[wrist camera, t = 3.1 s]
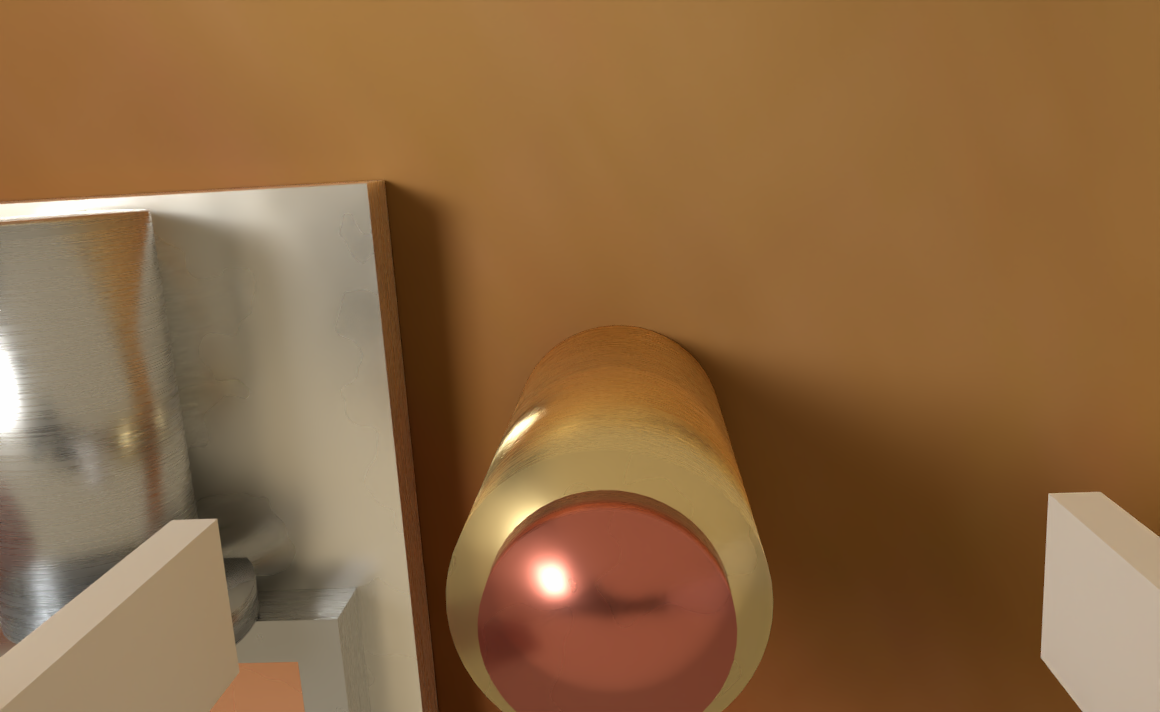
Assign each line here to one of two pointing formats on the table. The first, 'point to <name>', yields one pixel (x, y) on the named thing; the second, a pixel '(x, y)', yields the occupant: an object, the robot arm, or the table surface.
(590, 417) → the brass cylinder
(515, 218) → the table surface
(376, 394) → the pipeline
